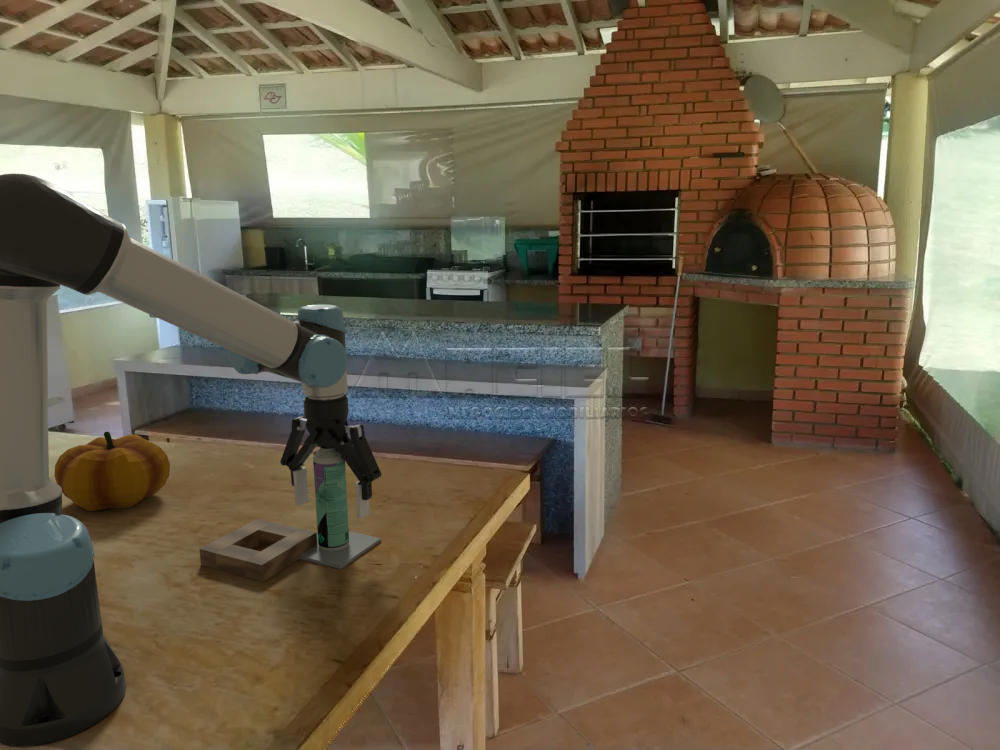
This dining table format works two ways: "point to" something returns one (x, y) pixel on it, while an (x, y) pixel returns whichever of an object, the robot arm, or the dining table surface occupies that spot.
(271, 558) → the eye block
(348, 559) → the slate tile
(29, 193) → the robot arm
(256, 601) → the dining table surface
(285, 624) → the dining table surface
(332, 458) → the spray can
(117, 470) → the decorative pumpkin
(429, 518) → the dining table surface
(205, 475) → the dining table surface
